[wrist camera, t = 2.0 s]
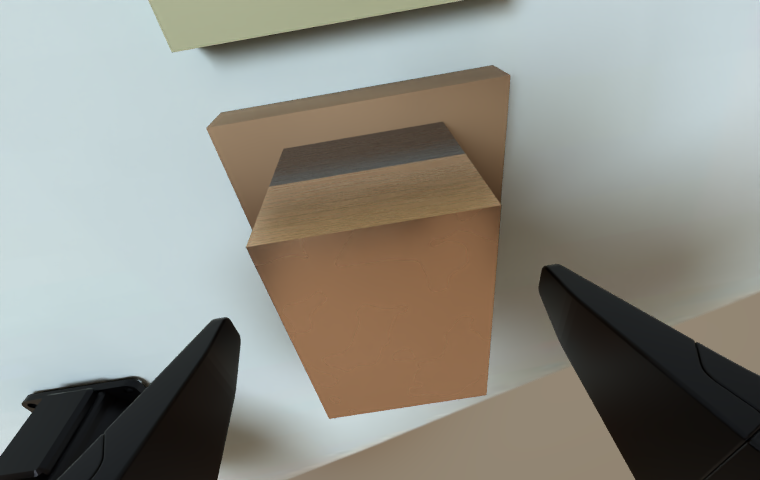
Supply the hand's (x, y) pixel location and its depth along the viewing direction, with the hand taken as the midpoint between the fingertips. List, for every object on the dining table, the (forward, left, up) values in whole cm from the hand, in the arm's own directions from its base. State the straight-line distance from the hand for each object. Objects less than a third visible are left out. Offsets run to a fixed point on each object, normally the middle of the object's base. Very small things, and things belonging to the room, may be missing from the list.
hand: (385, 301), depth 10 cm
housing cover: (0, 0, -1) cm, 1 cm away
